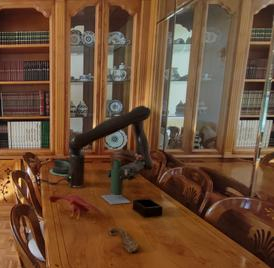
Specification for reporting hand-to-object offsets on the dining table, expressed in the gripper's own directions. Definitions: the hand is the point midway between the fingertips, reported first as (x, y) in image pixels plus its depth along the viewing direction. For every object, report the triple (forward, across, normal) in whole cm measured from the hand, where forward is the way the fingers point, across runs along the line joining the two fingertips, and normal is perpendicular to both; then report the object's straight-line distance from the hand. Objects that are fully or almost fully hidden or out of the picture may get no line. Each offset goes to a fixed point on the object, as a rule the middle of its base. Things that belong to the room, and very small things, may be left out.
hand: (114, 177), depth 122 cm
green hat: (-17, -52, +13) cm, 56 cm away
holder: (0, +17, +13) cm, 22 cm away
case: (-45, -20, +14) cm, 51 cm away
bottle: (-2, 0, +10) cm, 10 cm away
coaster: (-2, 0, +13) cm, 13 cm away
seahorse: (+30, +22, +13) cm, 39 cm away
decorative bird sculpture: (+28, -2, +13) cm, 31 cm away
